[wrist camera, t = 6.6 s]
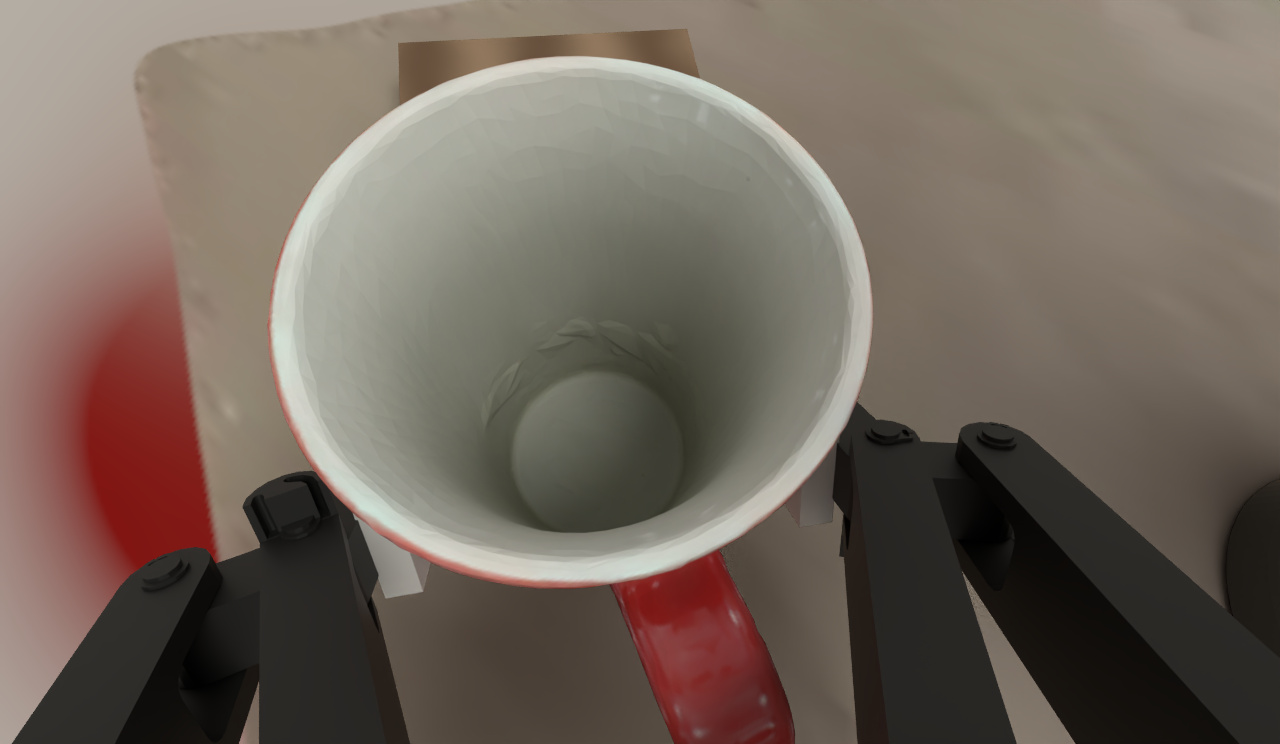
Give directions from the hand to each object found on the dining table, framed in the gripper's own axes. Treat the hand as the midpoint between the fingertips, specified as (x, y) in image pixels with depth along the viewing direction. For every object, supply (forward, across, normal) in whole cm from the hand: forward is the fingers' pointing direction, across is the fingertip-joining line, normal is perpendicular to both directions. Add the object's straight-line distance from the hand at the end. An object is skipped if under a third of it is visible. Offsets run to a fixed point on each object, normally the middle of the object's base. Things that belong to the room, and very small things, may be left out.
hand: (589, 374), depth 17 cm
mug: (+1, 0, -6) cm, 6 cm away
